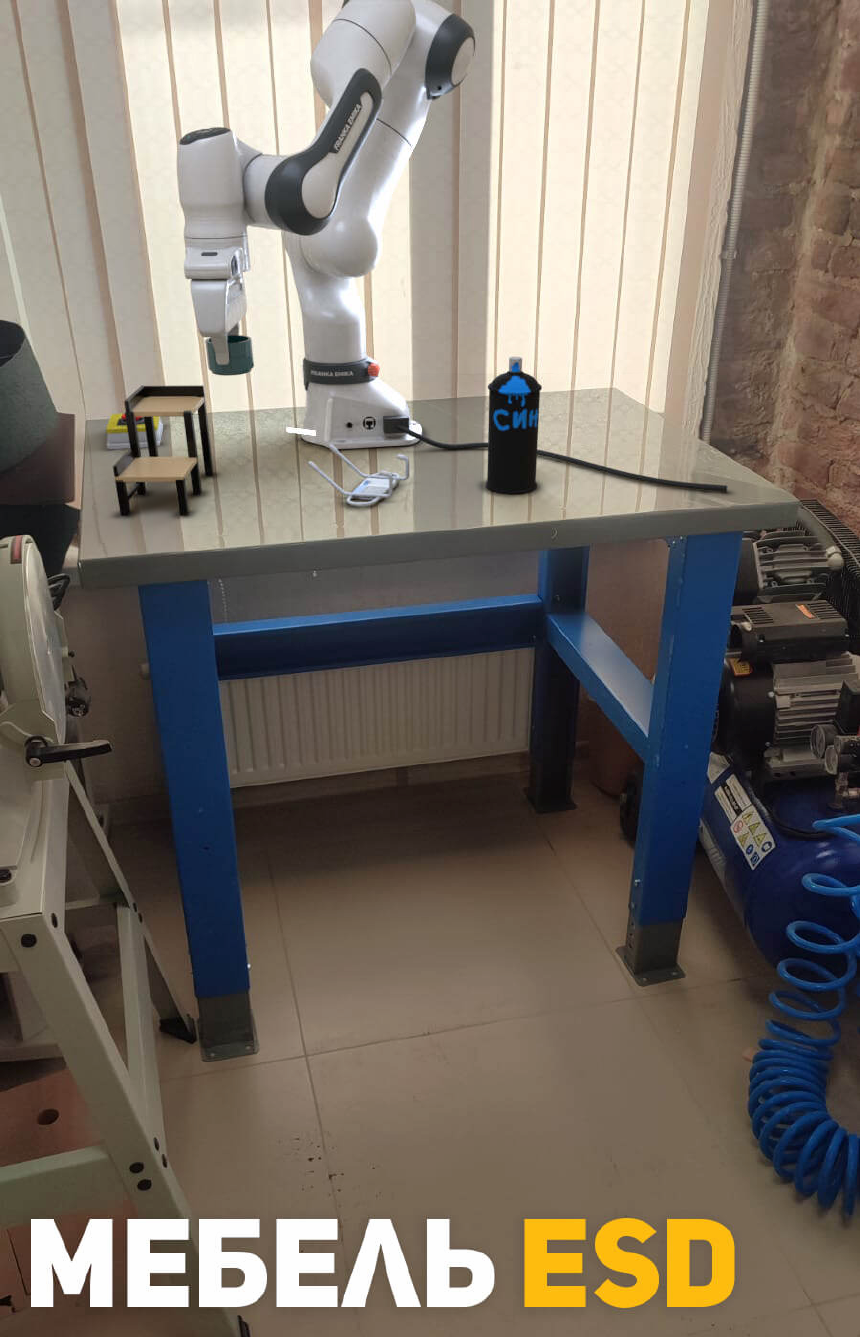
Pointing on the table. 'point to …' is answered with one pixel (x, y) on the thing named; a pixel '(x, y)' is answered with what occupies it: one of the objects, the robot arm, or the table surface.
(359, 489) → the wall mount rack
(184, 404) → the rack
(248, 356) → the cup
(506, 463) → the aerosol can
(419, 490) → the table surface
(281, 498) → the table surface
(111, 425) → the emergency button
